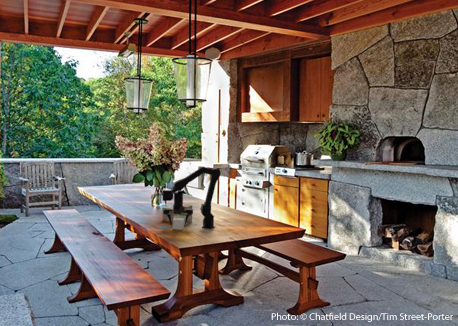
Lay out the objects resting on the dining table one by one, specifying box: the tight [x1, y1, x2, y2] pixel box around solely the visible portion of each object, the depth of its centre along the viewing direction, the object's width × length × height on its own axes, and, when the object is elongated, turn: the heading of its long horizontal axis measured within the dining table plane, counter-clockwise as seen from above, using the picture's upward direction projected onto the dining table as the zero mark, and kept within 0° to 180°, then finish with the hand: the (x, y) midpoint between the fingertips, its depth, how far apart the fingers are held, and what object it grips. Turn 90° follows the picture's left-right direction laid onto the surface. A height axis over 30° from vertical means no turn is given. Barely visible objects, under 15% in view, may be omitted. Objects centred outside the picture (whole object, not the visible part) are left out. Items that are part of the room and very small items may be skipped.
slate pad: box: [154, 224, 173, 231], centre depth 272 cm, size 9×9×1 cm
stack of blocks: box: [162, 203, 193, 225], centre depth 291 cm, size 21×6×12 cm, turn 60°
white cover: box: [171, 218, 185, 230], centre depth 270 cm, size 7×7×6 cm
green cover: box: [173, 214, 188, 226], centre depth 281 cm, size 7×7×6 cm
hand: (178, 224), depth 270 cm, fingers open, 9 cm apart
